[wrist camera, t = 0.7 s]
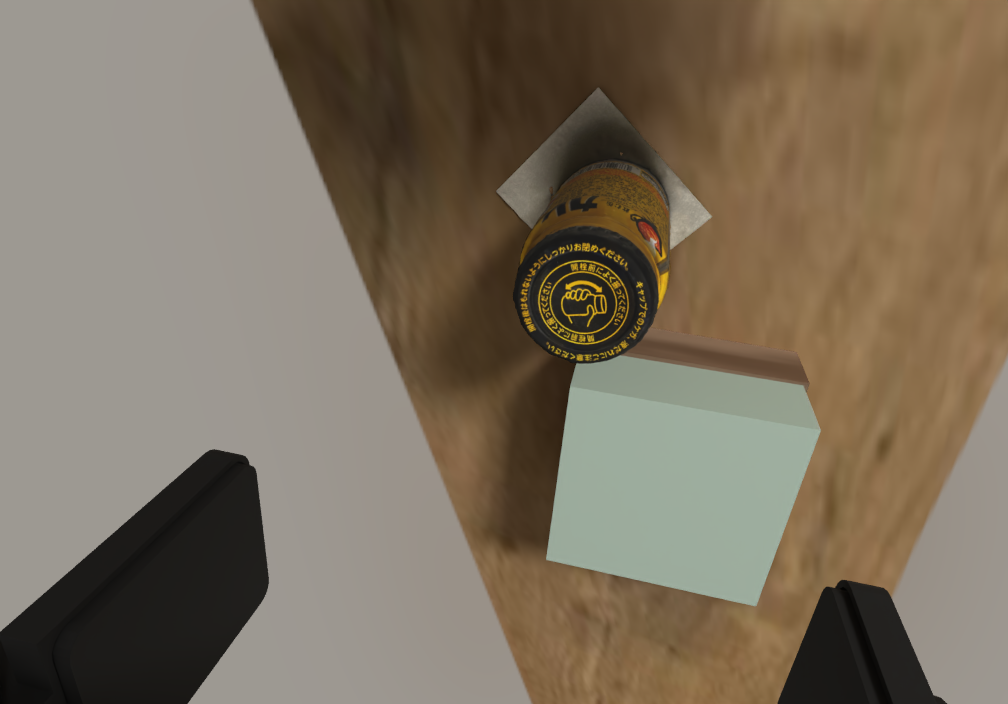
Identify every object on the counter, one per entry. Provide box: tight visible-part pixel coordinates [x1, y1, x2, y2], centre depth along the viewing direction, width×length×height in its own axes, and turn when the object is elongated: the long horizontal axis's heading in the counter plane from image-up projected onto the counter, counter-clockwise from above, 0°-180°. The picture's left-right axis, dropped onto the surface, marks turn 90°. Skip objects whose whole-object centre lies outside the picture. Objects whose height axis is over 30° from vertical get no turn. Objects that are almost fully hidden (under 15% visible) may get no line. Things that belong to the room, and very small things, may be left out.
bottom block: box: [621, 328, 809, 392], centre depth 36 cm, size 11×11×4 cm
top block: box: [546, 355, 821, 606], centre depth 33 cm, size 11×11×4 cm
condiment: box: [496, 87, 712, 364], centre depth 28 cm, size 7×8×12 cm
